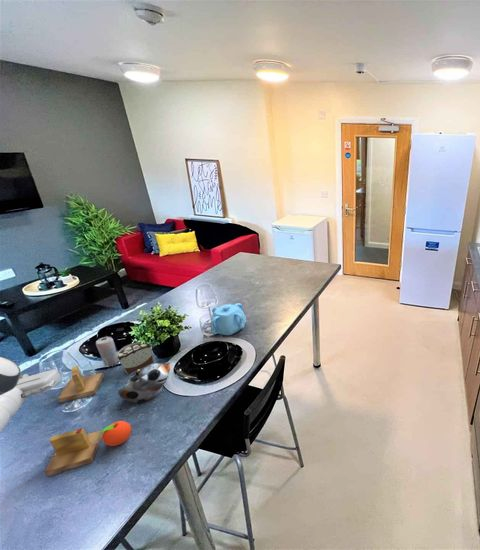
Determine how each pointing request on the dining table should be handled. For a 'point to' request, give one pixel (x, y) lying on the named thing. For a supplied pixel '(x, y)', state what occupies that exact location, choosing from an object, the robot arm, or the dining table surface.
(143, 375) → the lucky cat figurine
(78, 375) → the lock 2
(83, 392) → the plate
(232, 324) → the decorative pot
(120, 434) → the clementine
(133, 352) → the food container
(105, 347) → the pillar candle
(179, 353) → the dining table surface
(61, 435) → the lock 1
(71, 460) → the wooden board
